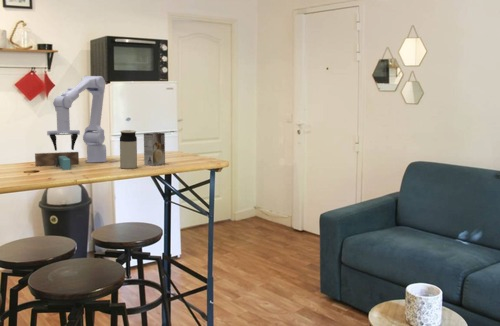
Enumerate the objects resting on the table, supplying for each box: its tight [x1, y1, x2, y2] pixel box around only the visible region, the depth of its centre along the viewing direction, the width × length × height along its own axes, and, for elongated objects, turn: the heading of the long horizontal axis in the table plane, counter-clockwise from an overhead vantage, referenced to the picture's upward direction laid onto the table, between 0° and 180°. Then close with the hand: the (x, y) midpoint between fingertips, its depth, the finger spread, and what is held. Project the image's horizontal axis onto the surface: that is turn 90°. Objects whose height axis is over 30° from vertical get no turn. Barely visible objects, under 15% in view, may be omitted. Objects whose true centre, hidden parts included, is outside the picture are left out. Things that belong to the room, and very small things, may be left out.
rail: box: [58, 156, 71, 171], centre depth 248 cm, size 3×15×5 cm, turn 28°
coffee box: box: [143, 132, 166, 167], centre depth 262 cm, size 9×6×16 cm
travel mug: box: [119, 129, 138, 170], centre depth 250 cm, size 8×8×18 cm
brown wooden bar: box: [34, 151, 80, 168], centre depth 253 cm, size 20×6×6 cm, turn 118°
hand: (64, 149), depth 247 cm, fingers open, 7 cm apart
